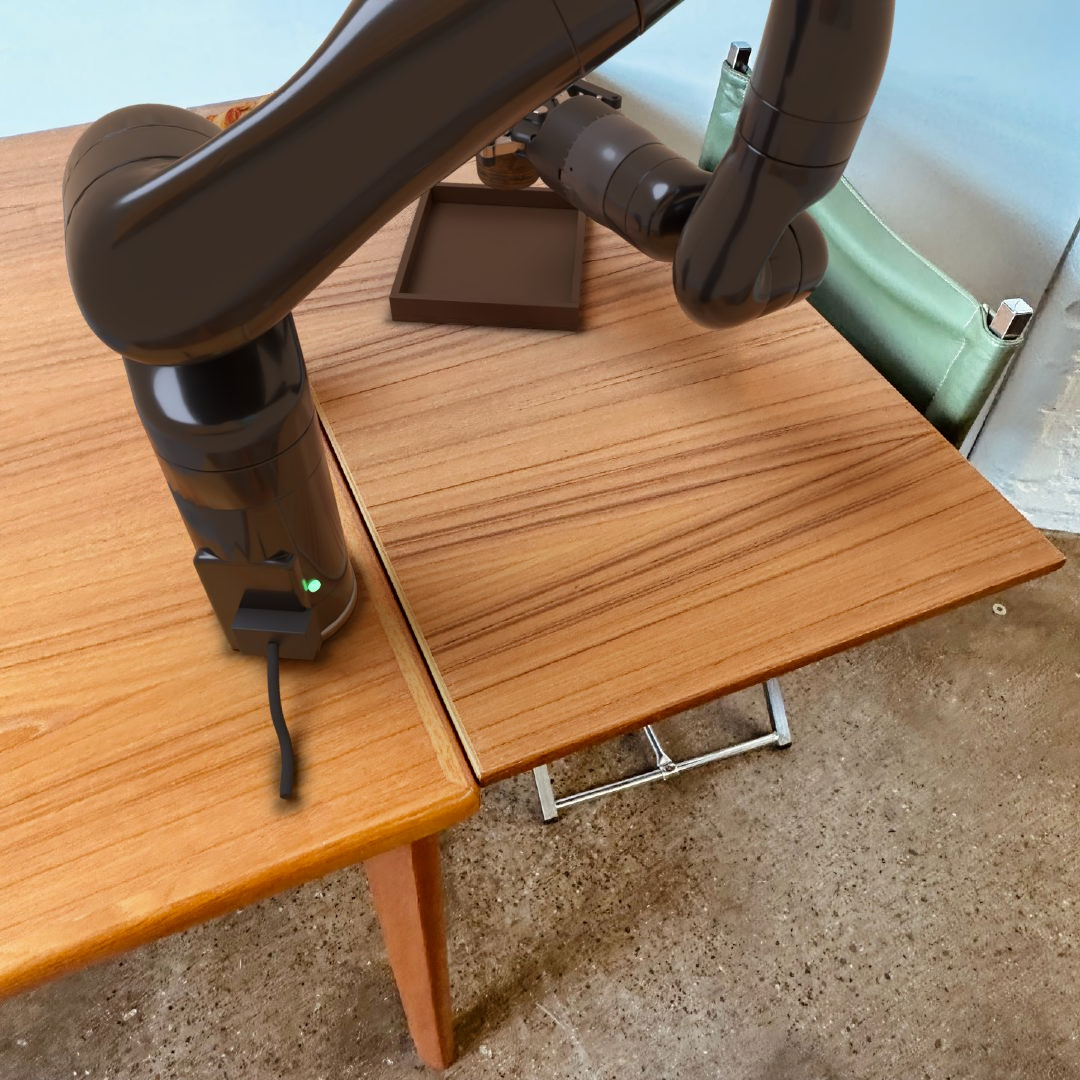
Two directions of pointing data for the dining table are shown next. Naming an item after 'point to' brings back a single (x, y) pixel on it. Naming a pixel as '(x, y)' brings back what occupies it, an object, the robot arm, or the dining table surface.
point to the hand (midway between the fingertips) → (491, 87)
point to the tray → (491, 259)
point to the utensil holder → (508, 173)
